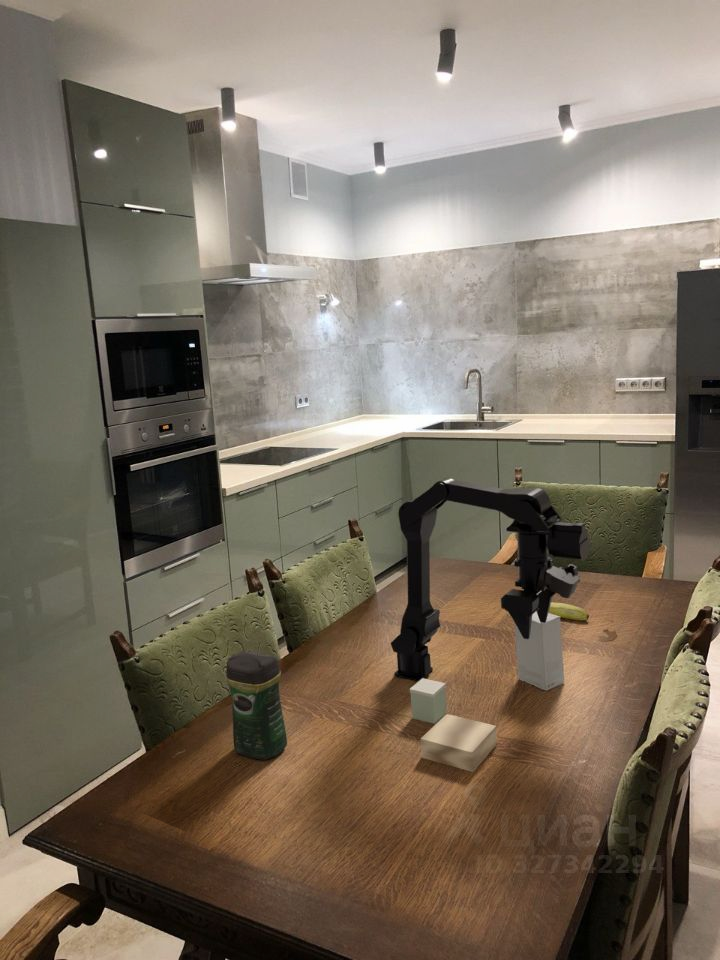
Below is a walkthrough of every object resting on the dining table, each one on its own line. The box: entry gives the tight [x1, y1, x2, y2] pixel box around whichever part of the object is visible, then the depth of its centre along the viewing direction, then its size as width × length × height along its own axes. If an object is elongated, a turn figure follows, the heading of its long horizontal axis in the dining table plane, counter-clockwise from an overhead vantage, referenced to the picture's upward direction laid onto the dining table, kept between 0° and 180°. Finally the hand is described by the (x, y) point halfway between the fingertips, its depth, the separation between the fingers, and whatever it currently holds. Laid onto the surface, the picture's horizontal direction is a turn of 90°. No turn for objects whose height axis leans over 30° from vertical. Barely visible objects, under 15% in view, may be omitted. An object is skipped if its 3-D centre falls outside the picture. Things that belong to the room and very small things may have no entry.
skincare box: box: [513, 611, 565, 691], centre depth 162 cm, size 8×6×15 cm
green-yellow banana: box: [548, 601, 618, 643], centre depth 197 cm, size 35×27×4 cm
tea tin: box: [409, 677, 447, 725], centre depth 152 cm, size 5×5×6 cm
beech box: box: [420, 713, 498, 773], centre depth 139 cm, size 10×10×4 cm
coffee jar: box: [225, 650, 288, 760], centre depth 143 cm, size 10×8×19 cm
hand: (534, 630), depth 153 cm, fingers open, 9 cm apart
